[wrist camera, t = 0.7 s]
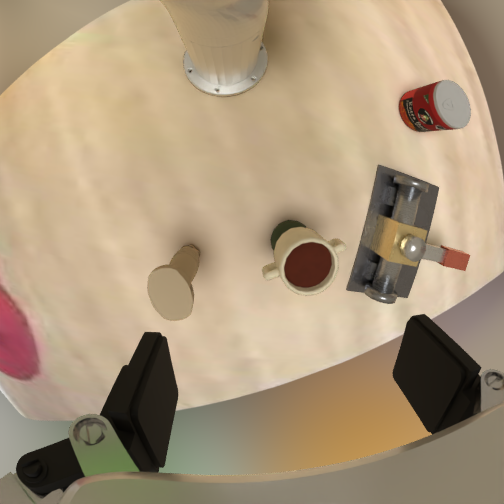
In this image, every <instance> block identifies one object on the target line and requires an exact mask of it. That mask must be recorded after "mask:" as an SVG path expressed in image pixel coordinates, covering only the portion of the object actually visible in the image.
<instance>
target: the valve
mask: <svg viewBox="0 0 504 504" xmlns="http://www.w3.org/2000/svg"><path fill="white" fill-rule="evenodd" d="M438 191H439V187H437V186H435V185H432V184H430V183H427V182H425V181H422V180H420V179H417V178H415V177H412V176H409V175H407V174H404V173H401V172H399V171H396V170H393V169H390V168H387V167H384V166H381V165H378V168H377V173H376V178H375V182H374V187H373V192H372V196H371V201H370V205H369V209H368V214H367V218H366V222H365V226H364V230H363V233H362V237H361V241H360V245H359V248H358V252H357V255H356V259H355V262H354V266H353V269H352V273H351V276H350V279H349V282H348V285H347V289H346V290H348V291H355V292H363V293H365V294H366V295H367V296H368V297H370V298H372V299H374V300H376V301H379V302H382V303H387V304H392V303H395V301H396V299H397V297H404V298H408V295H409V293H410V290H411V287H412V284H413V282H414V279H415V276H416V273H417V270H418V267H419V264H420V260H419V261H417V262H413V261H411V260H409V259H407V258H406V257H404V256H403V255H402V253H401V250H400V247H401V243H402V241H403V239H404V238H405V237H406V236H408V235H415V236H417V237H419V238H421V239H423V240H424V242H425V243H426V240H427V237H428V233H429V229H430V226H431V222H432V218H433V213H434V209H435V205H436V200H437V196H438Z"/></svg>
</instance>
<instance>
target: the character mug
mask: <svg viewBox="0 0 504 504" xmlns="http://www.w3.org/2000/svg"><path fill="white" fill-rule="evenodd" d="M271 245H272V249H273V250H274V259H275V262H274V263H271V264H269V265H266V266H264V267H263V269H262V272H263V277H264V278H265V279H266V280H271V279H274V278H276V277H279V276H280V277H281V279H282V280H283V282H284V284H285V285H286V287H287V288H288V289H290V290H292V291H293V292H295V293H296V294H300V295H305V296H310V295H316V294H319V293H321V292H323V291H324V290H326V289H327V288H328V287H329V286H330V285H331V283H332V282H333V281H334V279H335V278H336V274H337V271H338V268H339V265H338V256H337V253H340V252H342V251H344V250H345V249H346V245H345V244H344V243H343V242H342V241H341V240H339V239H333V240H330V241H328V242H327V241H326V240H325V239H324V238H323V237H321V236H320V235H319V234H318V233H316V232H315V231H314V230H312V229H308V228H306V226H305V225H303V224H302V223H300V222H298V221H291V220H288V221H285V222H283V223H280V224H279V225H278V226H277V227H276V228H275V229H274V231H273V234H272V237H271Z"/></svg>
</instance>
